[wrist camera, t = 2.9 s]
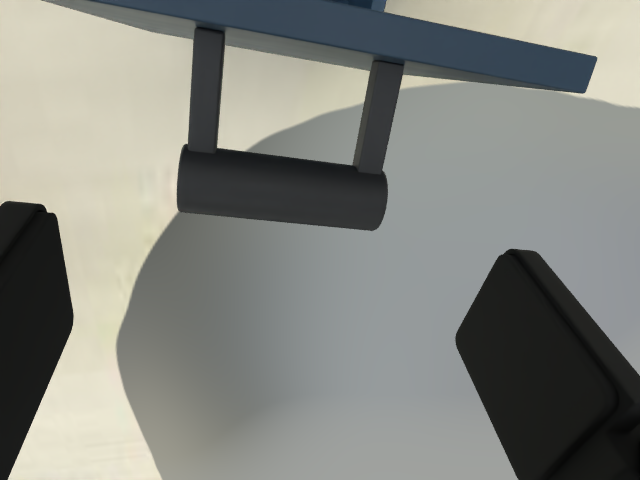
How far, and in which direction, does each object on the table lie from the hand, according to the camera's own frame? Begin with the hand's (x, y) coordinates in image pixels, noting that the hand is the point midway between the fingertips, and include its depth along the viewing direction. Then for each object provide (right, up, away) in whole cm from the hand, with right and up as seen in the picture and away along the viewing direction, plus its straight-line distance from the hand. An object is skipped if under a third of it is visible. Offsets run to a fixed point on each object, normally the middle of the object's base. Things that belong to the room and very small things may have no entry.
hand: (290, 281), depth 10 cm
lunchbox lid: (-1, +9, +7) cm, 12 cm away
